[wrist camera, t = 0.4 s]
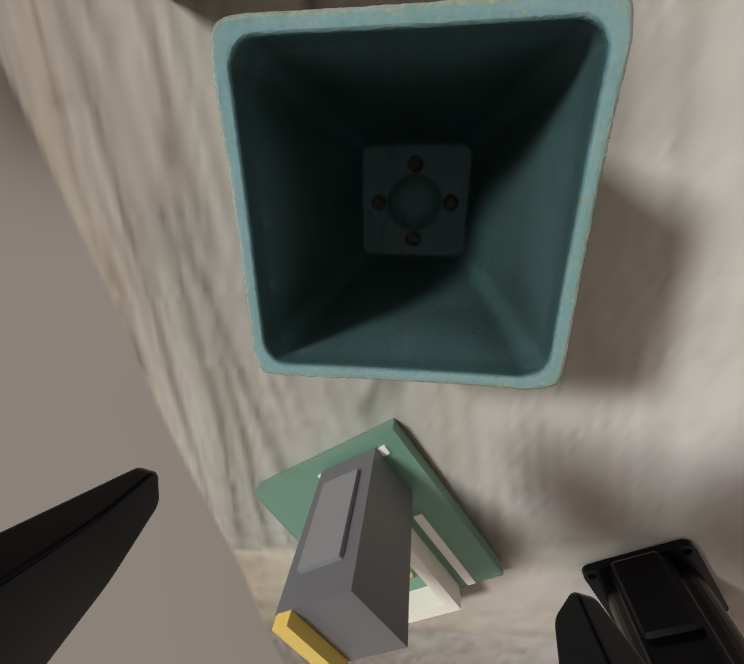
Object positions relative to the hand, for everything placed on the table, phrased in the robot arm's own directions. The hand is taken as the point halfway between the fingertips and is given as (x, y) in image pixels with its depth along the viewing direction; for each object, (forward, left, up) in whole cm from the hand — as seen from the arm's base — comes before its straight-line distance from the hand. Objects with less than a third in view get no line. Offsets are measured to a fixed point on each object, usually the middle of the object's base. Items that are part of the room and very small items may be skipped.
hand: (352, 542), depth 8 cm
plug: (-7, +7, -12) cm, 16 cm away
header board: (-11, +9, -13) cm, 20 cm away
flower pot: (+5, -4, -13) cm, 14 cm away
